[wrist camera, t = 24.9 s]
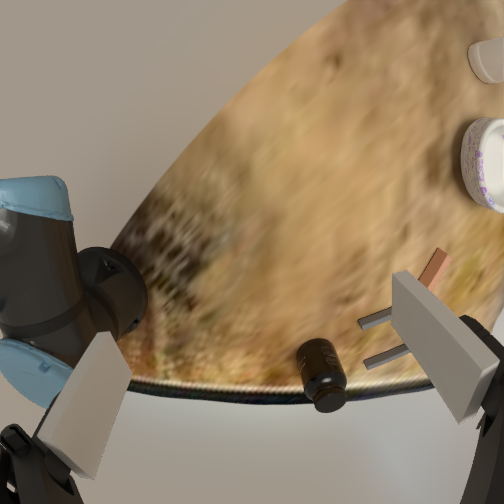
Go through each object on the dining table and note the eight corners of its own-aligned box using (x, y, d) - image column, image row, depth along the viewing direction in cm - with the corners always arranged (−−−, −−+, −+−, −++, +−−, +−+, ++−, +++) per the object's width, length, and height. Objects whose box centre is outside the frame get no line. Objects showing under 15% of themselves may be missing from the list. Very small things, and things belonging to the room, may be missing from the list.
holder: (441, 330, 49) (449, 338, 46) (364, 364, 50) (369, 374, 47) (442, 246, 42) (452, 252, 40) (351, 280, 44) (358, 289, 41)
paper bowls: (434, 161, 38) (466, 167, 30) (472, 100, 34) (503, 98, 26) (477, 220, 41) (506, 233, 34) (510, 160, 37) (539, 167, 30)
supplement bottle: (289, 349, 48) (300, 401, 37) (325, 331, 47) (345, 380, 36) (305, 372, 50) (318, 422, 39) (339, 356, 49) (359, 404, 38)
